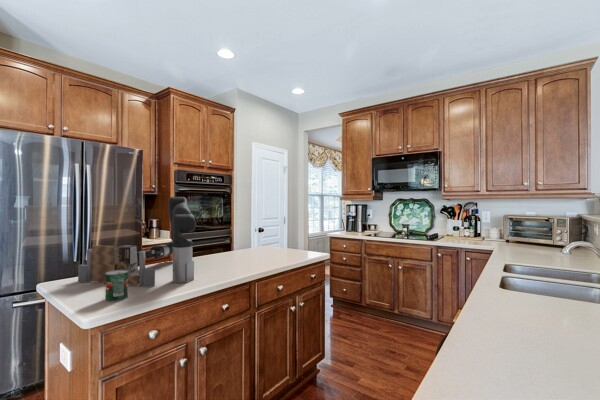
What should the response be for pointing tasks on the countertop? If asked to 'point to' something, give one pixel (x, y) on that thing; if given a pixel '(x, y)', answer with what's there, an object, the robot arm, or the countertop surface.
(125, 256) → the coffee box
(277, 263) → the countertop surface
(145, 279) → the fence
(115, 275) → the canned tomato
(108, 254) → the gate
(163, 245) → the robot arm
